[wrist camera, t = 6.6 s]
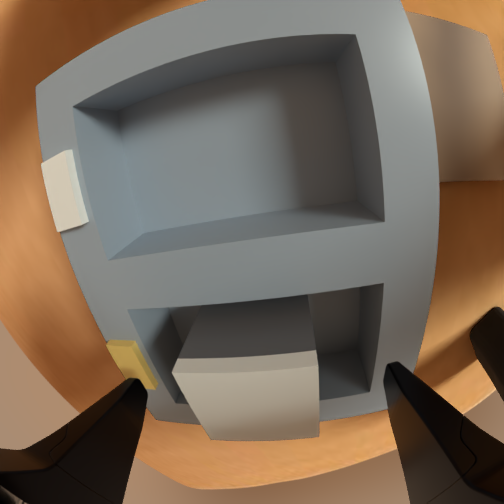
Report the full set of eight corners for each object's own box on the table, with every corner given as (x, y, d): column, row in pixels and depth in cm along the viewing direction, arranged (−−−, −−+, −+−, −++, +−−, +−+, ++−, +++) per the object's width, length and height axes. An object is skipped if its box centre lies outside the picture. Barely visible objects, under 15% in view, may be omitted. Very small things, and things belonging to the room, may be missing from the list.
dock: (364, 31, 8) (401, -12, 4) (383, 354, 14) (404, 411, 10) (91, 93, 10) (28, 85, 6) (175, 372, 16) (154, 425, 12)
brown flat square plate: (477, 38, 6) (487, 35, 5) (500, 176, 9) (511, 180, 8) (368, 15, 7) (375, 6, 7) (401, 180, 10) (411, 183, 9)
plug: (303, 271, 11) (318, 365, 6) (310, 343, 13) (319, 436, 8) (211, 282, 12) (171, 372, 7) (231, 350, 13) (210, 439, 8)
